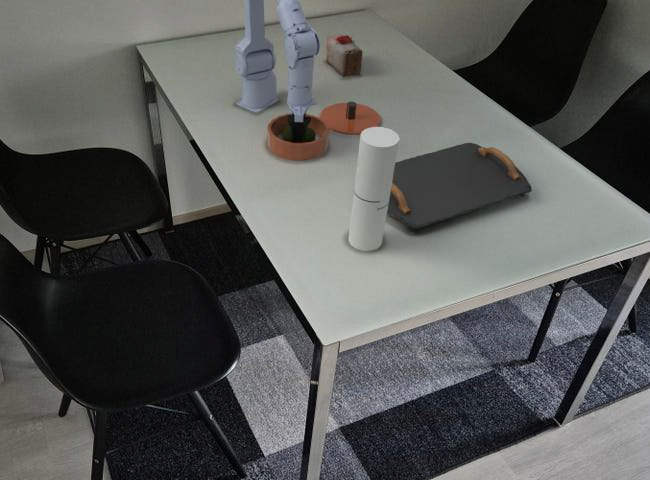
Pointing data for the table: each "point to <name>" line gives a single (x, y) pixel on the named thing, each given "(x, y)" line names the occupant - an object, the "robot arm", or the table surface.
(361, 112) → the lid
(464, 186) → the serving tray
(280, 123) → the pot
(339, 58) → the food item
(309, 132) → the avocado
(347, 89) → the table surface
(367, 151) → the cylindrical container
